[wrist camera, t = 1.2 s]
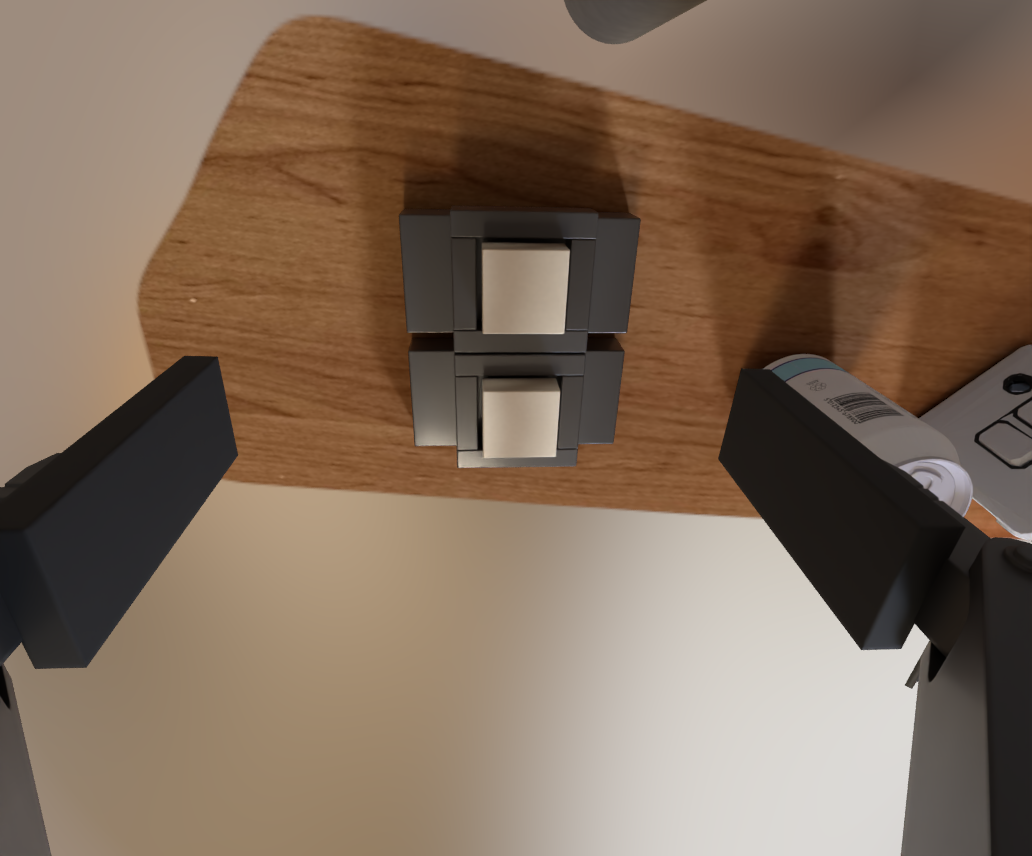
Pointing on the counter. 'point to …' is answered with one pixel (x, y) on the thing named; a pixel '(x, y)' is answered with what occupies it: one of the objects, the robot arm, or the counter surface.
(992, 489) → the electrical switch
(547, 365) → the far key block
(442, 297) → the near key block
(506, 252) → the c key
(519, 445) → the e key
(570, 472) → the counter surface
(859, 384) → the beverage can
